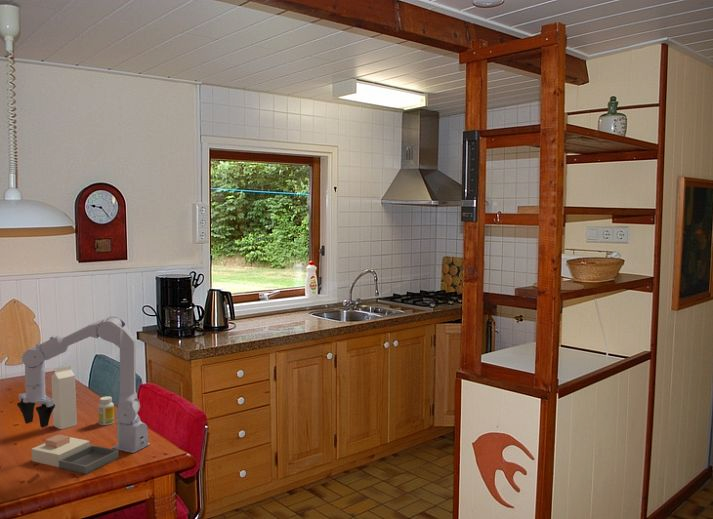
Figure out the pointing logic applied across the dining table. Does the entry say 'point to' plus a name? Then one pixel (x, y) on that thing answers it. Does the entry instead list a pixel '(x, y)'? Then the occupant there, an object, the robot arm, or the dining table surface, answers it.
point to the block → (57, 441)
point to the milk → (64, 398)
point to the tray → (88, 459)
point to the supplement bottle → (106, 411)
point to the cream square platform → (57, 451)
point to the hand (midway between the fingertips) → (36, 424)
